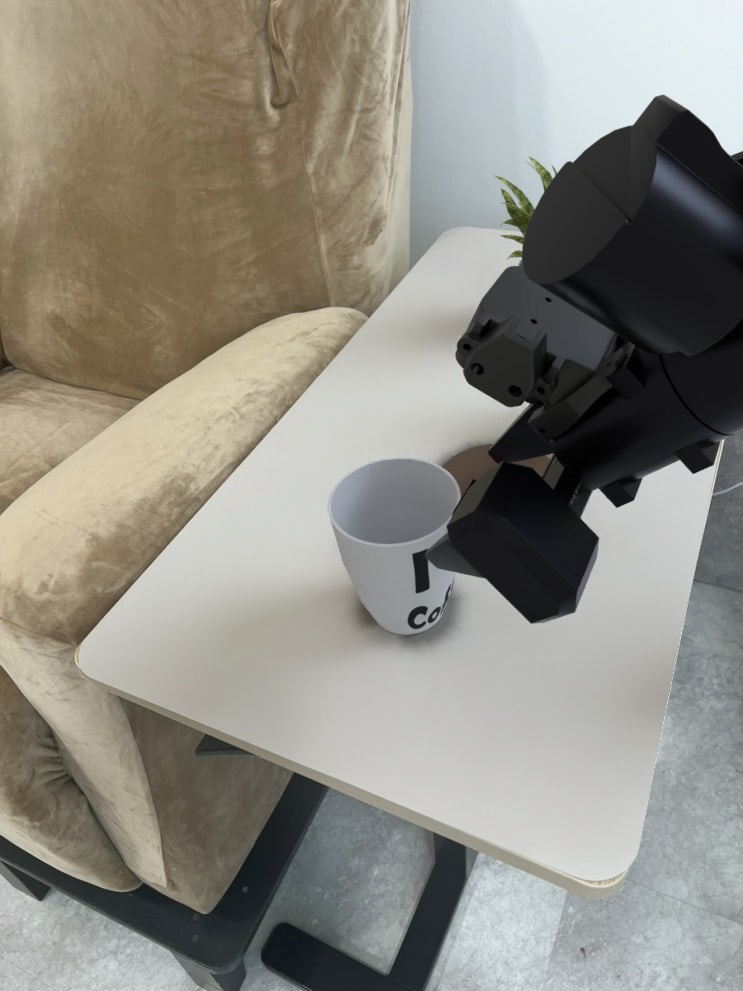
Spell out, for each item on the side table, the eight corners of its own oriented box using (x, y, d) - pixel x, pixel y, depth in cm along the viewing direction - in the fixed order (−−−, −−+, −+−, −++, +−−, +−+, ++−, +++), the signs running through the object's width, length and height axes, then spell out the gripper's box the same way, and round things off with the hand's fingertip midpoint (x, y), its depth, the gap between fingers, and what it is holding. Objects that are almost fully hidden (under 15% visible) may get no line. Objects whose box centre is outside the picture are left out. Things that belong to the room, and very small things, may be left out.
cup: (422, 673, 49) (409, 566, 42) (325, 620, 53) (300, 515, 46) (488, 590, 53) (486, 482, 47) (394, 547, 57) (380, 442, 51)
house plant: (625, 282, 83) (643, 123, 73) (645, 349, 73) (670, 176, 63) (493, 290, 86) (491, 136, 75) (494, 356, 75) (493, 189, 65)
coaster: (565, 450, 64) (565, 445, 63) (560, 535, 56) (560, 530, 56) (446, 444, 66) (445, 440, 66) (426, 525, 59) (426, 520, 58)
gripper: (632, 148, 36) (433, 323, 48) (492, 346, 25) (274, 513, 36) (775, 319, 38) (550, 447, 50) (708, 578, 27) (435, 665, 38)
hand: (464, 505), depth 44 cm, fingers open, 9 cm apart
